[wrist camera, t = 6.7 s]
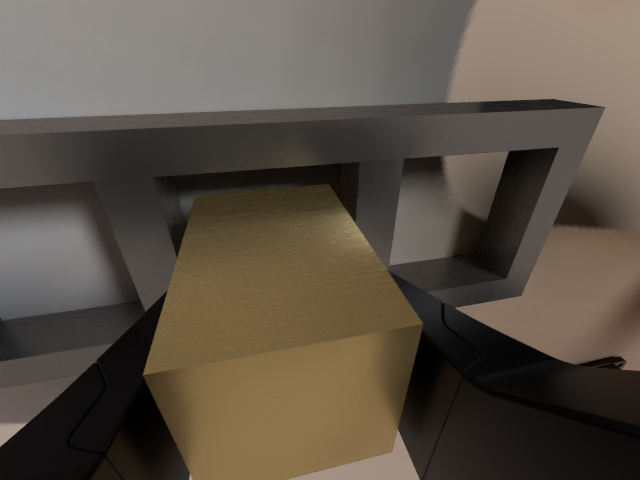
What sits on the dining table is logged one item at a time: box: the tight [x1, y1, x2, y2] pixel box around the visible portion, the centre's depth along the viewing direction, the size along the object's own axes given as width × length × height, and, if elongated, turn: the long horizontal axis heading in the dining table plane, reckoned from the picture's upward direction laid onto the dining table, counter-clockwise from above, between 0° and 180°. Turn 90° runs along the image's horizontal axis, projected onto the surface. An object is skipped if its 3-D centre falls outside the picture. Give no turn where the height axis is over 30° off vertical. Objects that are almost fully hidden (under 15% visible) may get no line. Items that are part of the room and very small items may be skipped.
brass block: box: [143, 184, 423, 480], centre depth 8 cm, size 4×4×6 cm
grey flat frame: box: [0, 99, 605, 388], centre depth 11 cm, size 22×8×2 cm, turn 90°
